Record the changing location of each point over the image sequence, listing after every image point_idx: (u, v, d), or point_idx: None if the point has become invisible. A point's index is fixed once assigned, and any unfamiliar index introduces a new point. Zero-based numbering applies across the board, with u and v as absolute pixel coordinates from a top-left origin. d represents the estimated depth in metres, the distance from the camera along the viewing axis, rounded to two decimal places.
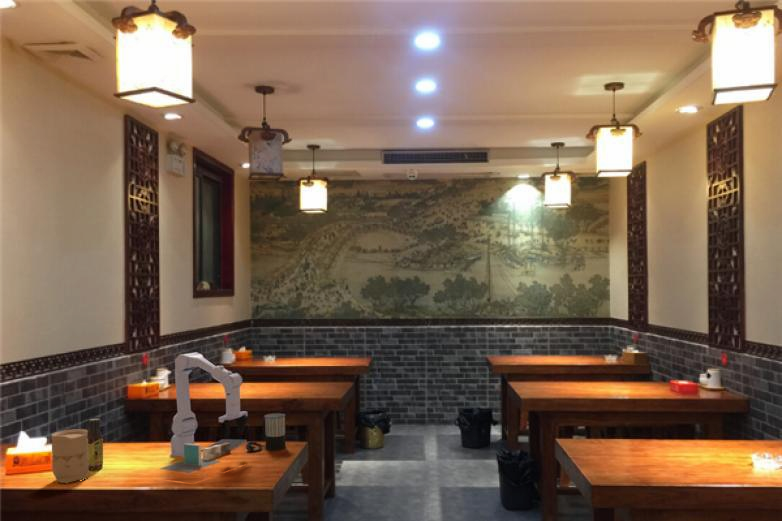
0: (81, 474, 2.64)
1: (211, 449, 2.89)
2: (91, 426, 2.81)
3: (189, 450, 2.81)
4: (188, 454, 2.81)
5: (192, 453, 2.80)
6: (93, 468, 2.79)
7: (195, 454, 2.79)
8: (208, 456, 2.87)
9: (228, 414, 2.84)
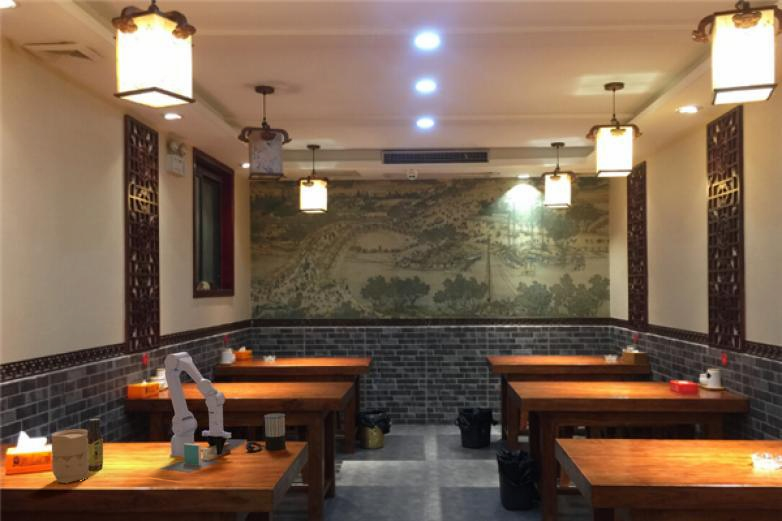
0: (81, 474, 2.64)
1: (211, 449, 2.89)
2: (91, 426, 2.81)
3: (189, 450, 2.81)
4: (188, 454, 2.81)
5: (192, 453, 2.80)
6: (93, 468, 2.79)
7: (195, 454, 2.79)
8: (208, 456, 2.87)
9: None
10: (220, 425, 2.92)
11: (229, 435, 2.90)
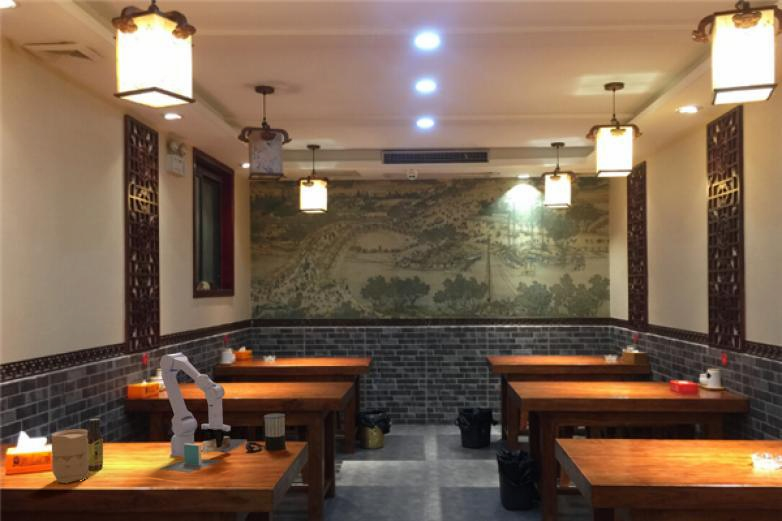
0: (81, 474, 2.64)
1: (211, 442, 2.89)
2: (91, 426, 2.81)
3: (189, 450, 2.81)
4: (188, 454, 2.81)
5: (192, 453, 2.80)
6: (93, 468, 2.79)
7: (195, 454, 2.79)
8: (207, 450, 2.87)
9: None
10: (219, 418, 2.92)
11: (228, 428, 2.90)
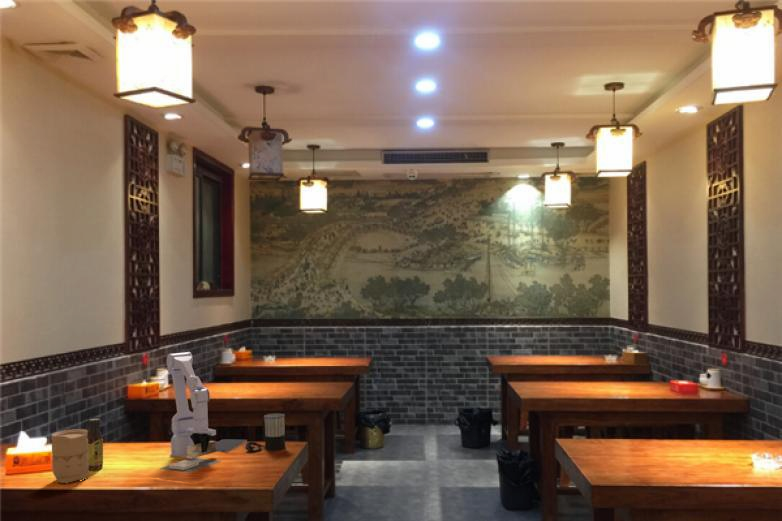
0: (81, 474, 2.64)
1: (195, 447, 2.81)
2: (91, 426, 2.81)
3: None
4: None
5: None
6: (93, 468, 2.79)
7: None
8: (192, 455, 2.79)
9: None
10: (205, 422, 2.84)
11: (214, 432, 2.82)
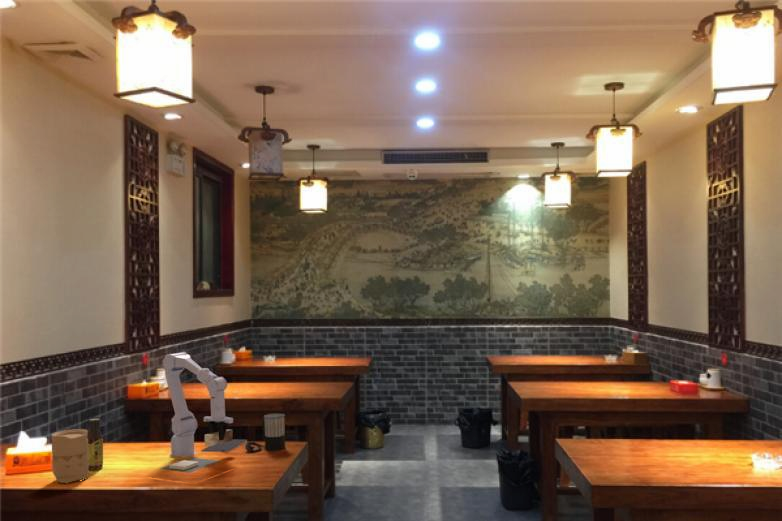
0: (81, 474, 2.64)
1: (213, 435, 2.85)
2: (91, 426, 2.81)
3: None
4: None
5: None
6: (93, 468, 2.79)
7: None
8: (210, 443, 2.83)
9: None
10: (222, 410, 2.89)
11: (231, 420, 2.87)
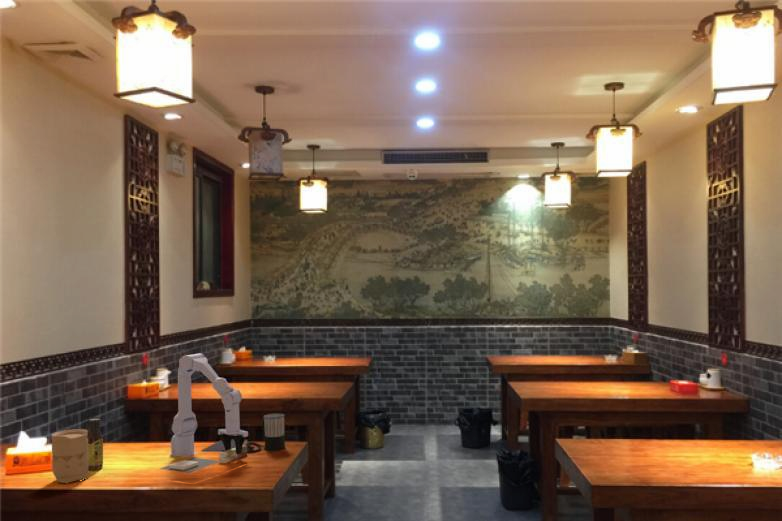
0: (81, 474, 2.64)
1: (227, 453, 2.83)
2: (91, 426, 2.81)
3: None
4: None
5: None
6: (93, 468, 2.79)
7: None
8: (225, 461, 2.81)
9: None
10: (237, 423, 2.86)
11: (246, 434, 2.84)
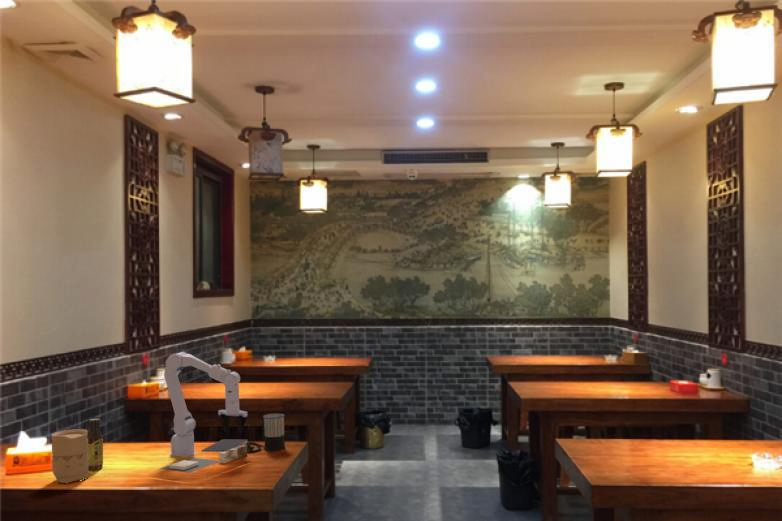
0: (81, 474, 2.64)
1: (227, 453, 2.83)
2: (91, 426, 2.81)
3: None
4: None
5: None
6: (93, 468, 2.79)
7: None
8: (225, 461, 2.81)
9: None
10: (236, 404, 2.96)
11: (245, 414, 2.94)
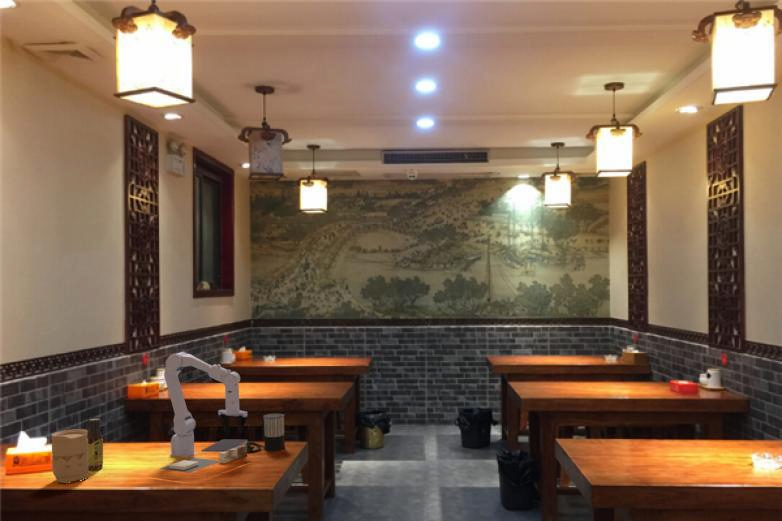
0: (81, 474, 2.64)
1: (227, 453, 2.83)
2: (91, 426, 2.81)
3: None
4: None
5: None
6: (93, 468, 2.79)
7: None
8: (225, 461, 2.81)
9: None
10: (236, 404, 2.96)
11: (245, 414, 2.94)
